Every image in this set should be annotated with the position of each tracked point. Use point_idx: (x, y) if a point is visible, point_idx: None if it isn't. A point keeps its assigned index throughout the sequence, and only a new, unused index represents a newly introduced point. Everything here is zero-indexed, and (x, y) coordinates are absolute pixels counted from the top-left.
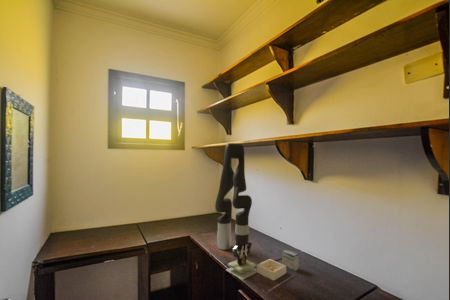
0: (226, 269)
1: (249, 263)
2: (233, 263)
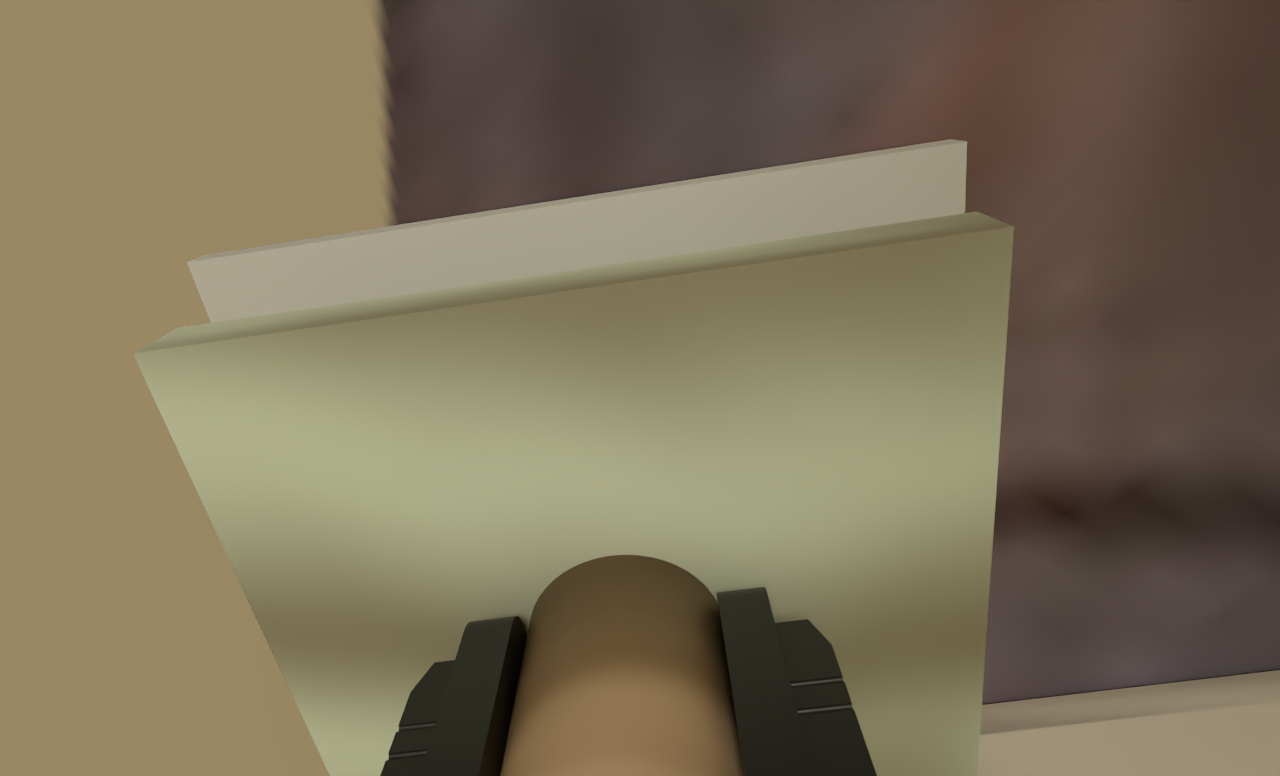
0: (225, 256)
1: (861, 717)
2: (361, 475)
